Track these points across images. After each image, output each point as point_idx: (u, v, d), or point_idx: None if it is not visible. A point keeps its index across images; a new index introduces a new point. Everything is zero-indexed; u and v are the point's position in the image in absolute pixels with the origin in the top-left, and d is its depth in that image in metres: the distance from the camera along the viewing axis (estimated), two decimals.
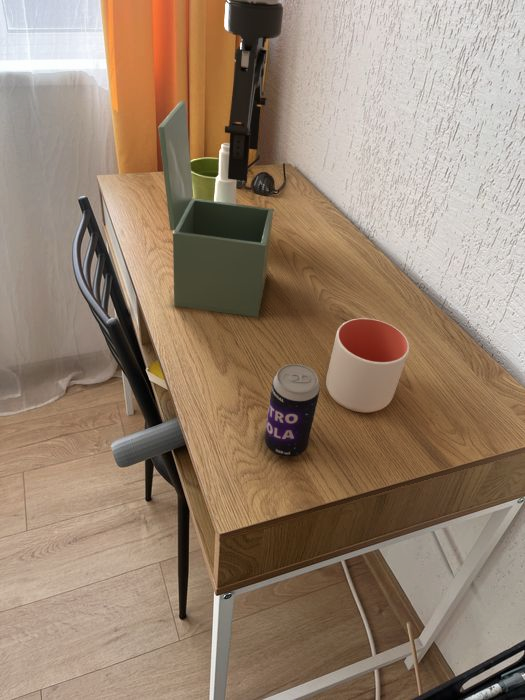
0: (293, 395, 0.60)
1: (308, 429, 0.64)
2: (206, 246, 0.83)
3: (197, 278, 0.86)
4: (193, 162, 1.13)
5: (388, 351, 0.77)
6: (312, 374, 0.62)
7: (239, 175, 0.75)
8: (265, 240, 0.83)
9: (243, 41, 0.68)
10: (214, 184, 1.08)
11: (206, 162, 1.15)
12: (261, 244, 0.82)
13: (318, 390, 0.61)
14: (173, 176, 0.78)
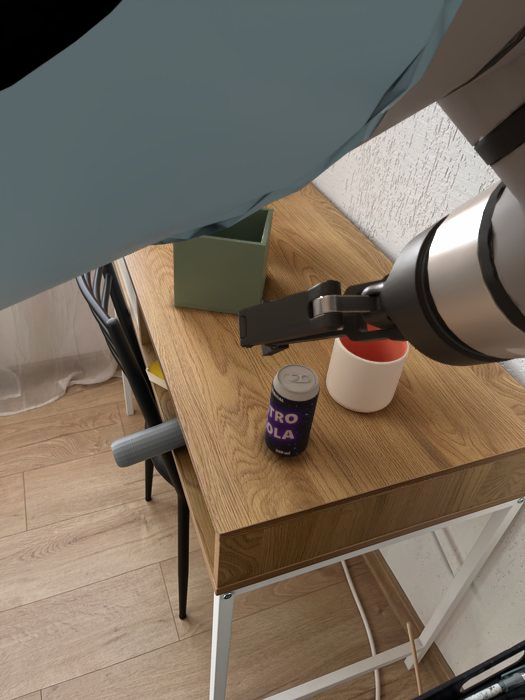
0: (293, 395, 0.60)
1: (308, 429, 0.64)
2: (206, 246, 0.83)
3: (197, 278, 0.86)
4: None
5: (388, 351, 0.77)
6: (312, 374, 0.62)
7: None
8: (265, 240, 0.83)
9: (382, 286, 0.28)
10: None
11: None
12: (261, 244, 0.82)
13: (318, 390, 0.61)
14: None
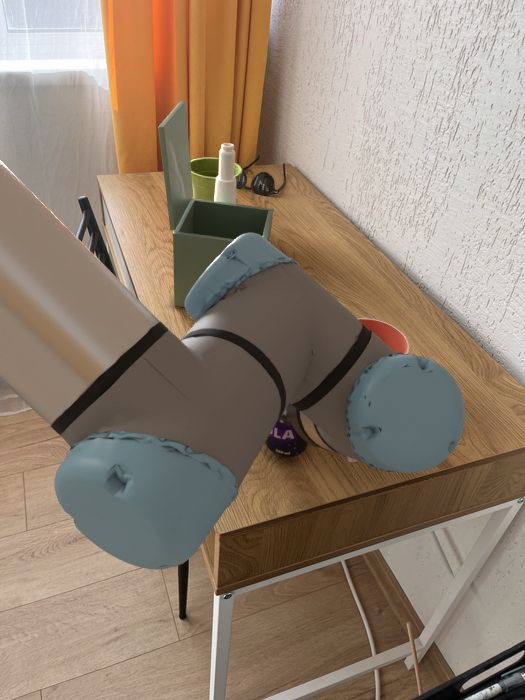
0: None
1: None
2: (206, 246, 0.83)
3: (197, 278, 0.86)
4: (193, 162, 1.13)
5: None
6: None
7: None
8: None
9: None
10: (214, 184, 1.08)
11: (206, 162, 1.15)
12: None
13: None
14: (173, 176, 0.78)
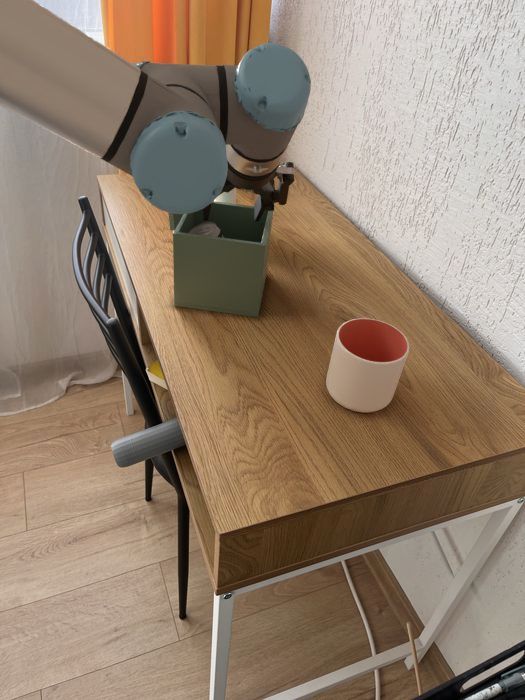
0: None
1: None
2: (206, 246, 0.83)
3: (197, 278, 0.86)
4: None
5: (388, 351, 0.77)
6: (213, 225, 0.86)
7: (203, 212, 0.86)
8: (265, 240, 0.83)
9: None
10: None
11: None
12: (261, 244, 0.82)
13: (218, 233, 0.85)
14: None
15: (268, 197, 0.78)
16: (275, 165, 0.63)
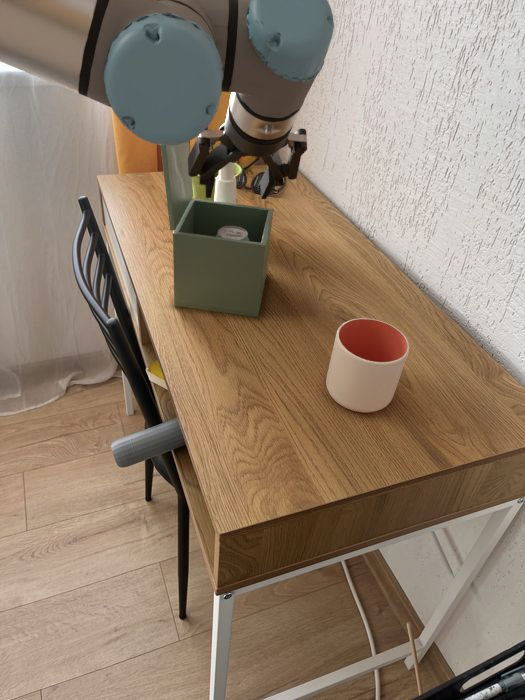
0: None
1: None
2: (206, 246, 0.83)
3: (197, 278, 0.86)
4: None
5: (388, 351, 0.77)
6: (244, 232, 0.87)
7: None
8: (265, 240, 0.83)
9: (225, 122, 0.62)
10: (214, 184, 1.08)
11: None
12: (261, 244, 0.82)
13: None
14: (173, 176, 0.78)
15: (277, 170, 0.71)
16: (288, 127, 0.57)
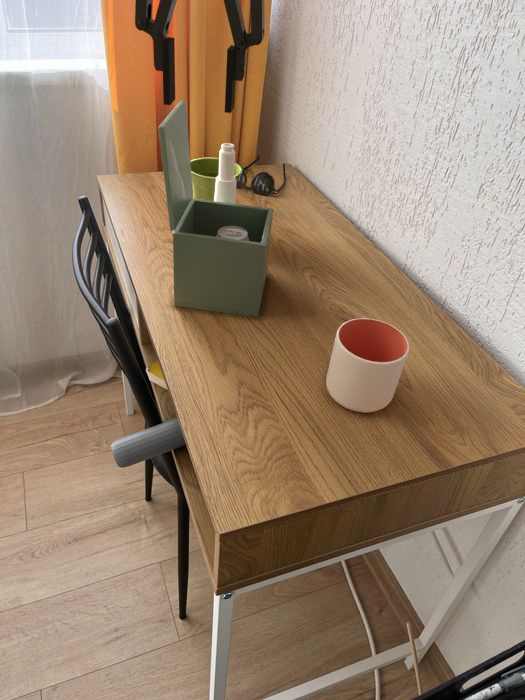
0: None
1: None
2: (206, 246, 0.83)
3: (197, 278, 0.86)
4: (193, 162, 1.13)
5: (388, 351, 0.77)
6: (244, 232, 0.87)
7: None
8: (265, 240, 0.83)
9: None
10: (214, 184, 1.08)
11: (206, 162, 1.15)
12: (261, 244, 0.82)
13: None
14: (173, 176, 0.78)
15: (235, 9, 0.55)
16: None
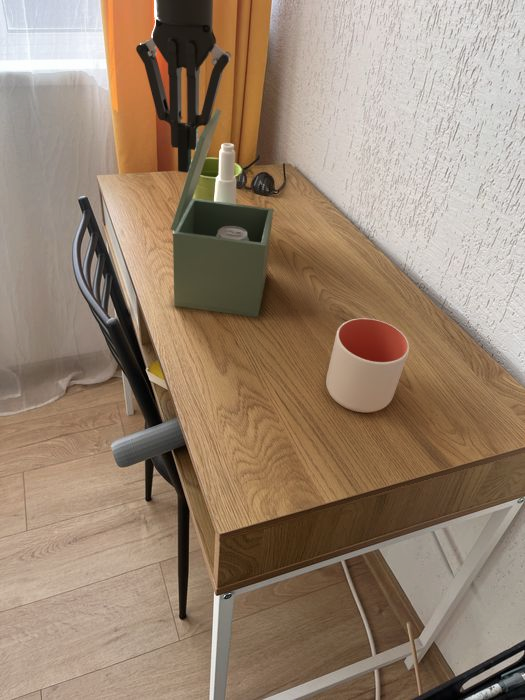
0: None
1: None
2: (206, 246, 0.83)
3: (197, 278, 0.86)
4: None
5: (388, 351, 0.77)
6: (243, 232, 0.87)
7: None
8: (265, 240, 0.83)
9: None
10: (214, 184, 1.08)
11: (206, 162, 1.15)
12: (261, 244, 0.82)
13: None
14: (192, 181, 0.78)
15: (194, 101, 0.75)
16: None
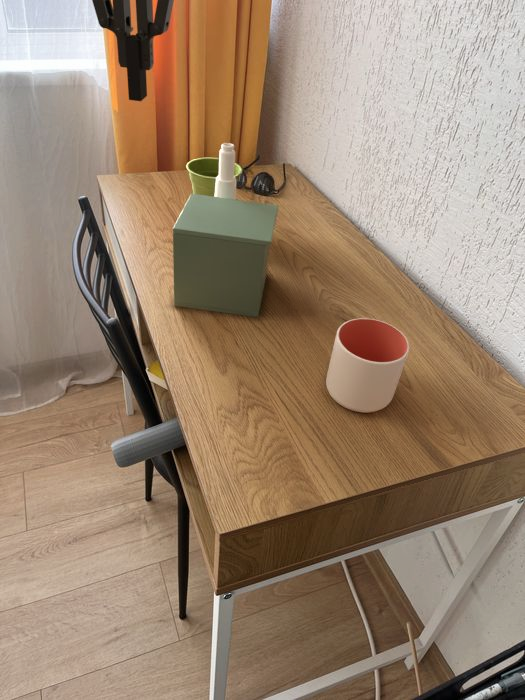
0: None
1: None
2: (206, 246, 0.83)
3: (197, 278, 0.86)
4: (193, 162, 1.13)
5: (388, 351, 0.77)
6: None
7: None
8: None
9: None
10: (214, 184, 1.08)
11: (206, 162, 1.15)
12: None
13: None
14: None
15: (144, 0, 0.57)
16: None
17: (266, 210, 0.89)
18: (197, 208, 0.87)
